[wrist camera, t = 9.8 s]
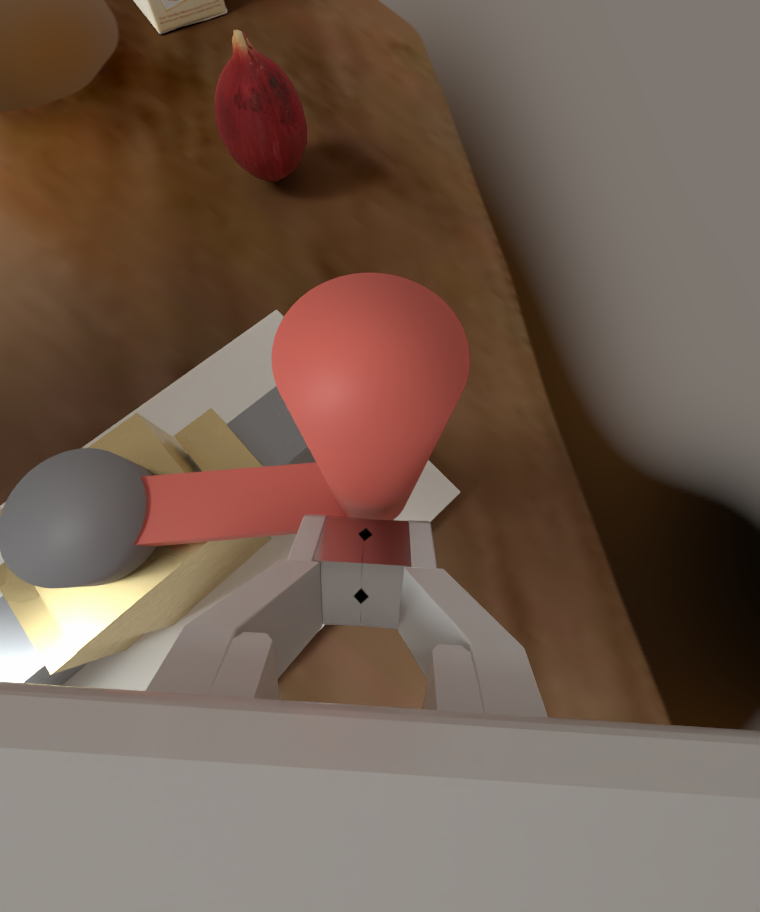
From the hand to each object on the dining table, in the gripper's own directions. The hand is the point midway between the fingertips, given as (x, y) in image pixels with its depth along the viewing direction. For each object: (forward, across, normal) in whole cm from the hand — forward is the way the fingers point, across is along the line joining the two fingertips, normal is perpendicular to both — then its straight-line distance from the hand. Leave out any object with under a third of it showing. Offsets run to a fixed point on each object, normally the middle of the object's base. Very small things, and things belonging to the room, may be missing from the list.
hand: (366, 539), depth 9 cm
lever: (+3, +5, +2) cm, 7 cm away
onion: (+27, +9, -12) cm, 31 cm away
